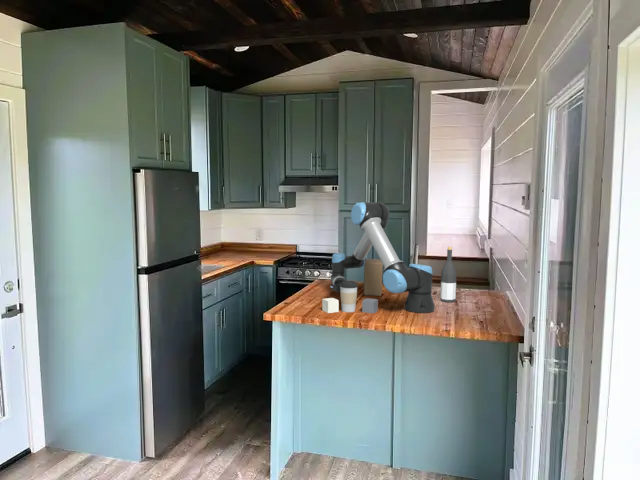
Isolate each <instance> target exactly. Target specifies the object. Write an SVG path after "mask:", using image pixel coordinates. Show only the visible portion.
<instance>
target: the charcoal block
mask: <svg viewBox="0 0 640 480" xmlns="http://www.w3.org/2000/svg"><path fill="white" fill-rule="evenodd" d="M361 302H362V303H361V306H362V308H361V312H362V313H365V312H366V313H365V314H372V313H373V314H375V313H377V312H378V310H379V309H378V308H379V307H378V305H379V299H377V298H368V297H366V298H364V299H363V300H362V301H361Z"/></svg>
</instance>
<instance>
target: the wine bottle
mask: <svg viewBox="0 0 640 480" xmlns="http://www.w3.org/2000/svg"><path fill="white" fill-rule="evenodd" d="M446 252H447V253H446V262H445V264H444V265H443V267H442V270H441V274H440V295H439V296H440V301H441V303H442V302H443V303H447V304H448V303H455V302H456V292H457V291H456V290H457V271H456V267H455V265H454V263H453V247H452V246H448V247H447V250H446Z"/></svg>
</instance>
